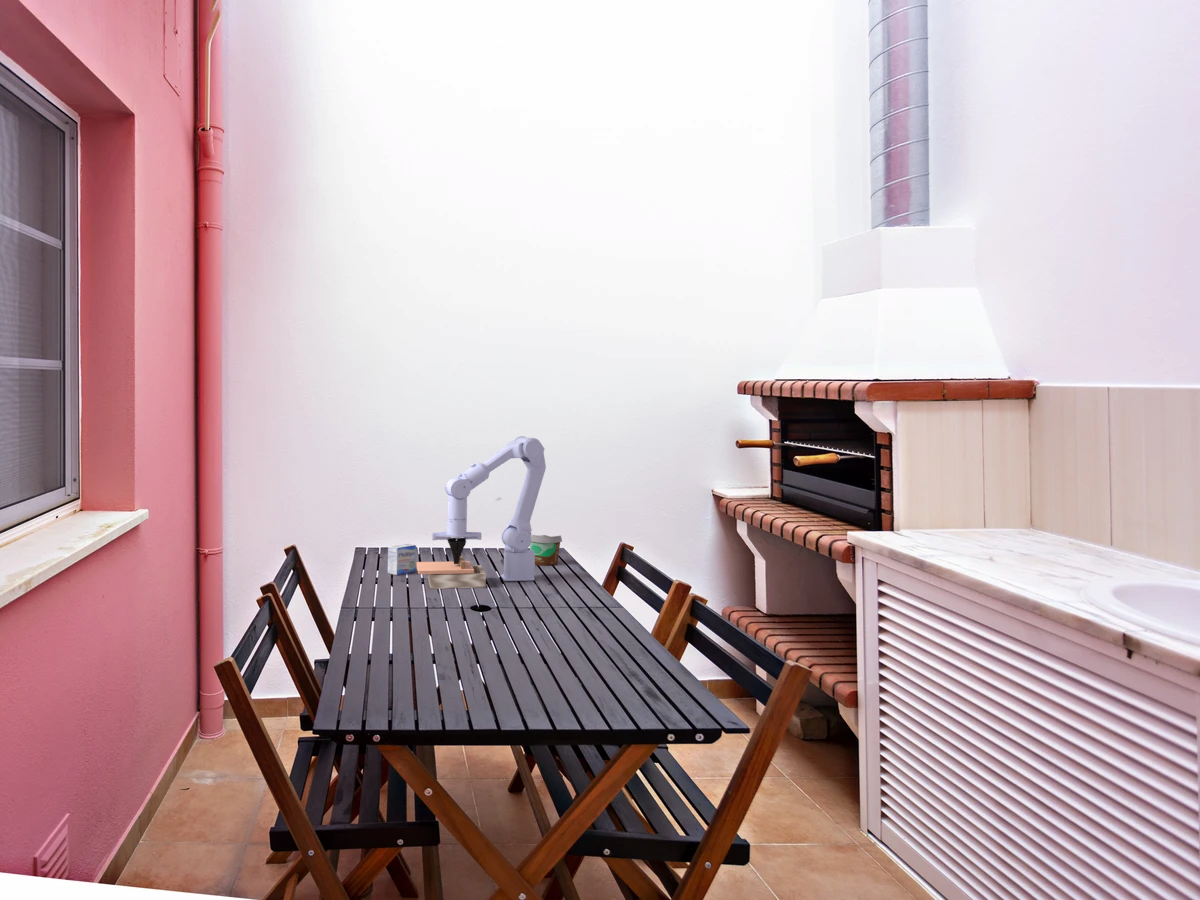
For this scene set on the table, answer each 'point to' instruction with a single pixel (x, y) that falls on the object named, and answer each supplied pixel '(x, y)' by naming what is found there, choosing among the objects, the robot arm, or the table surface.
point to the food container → (545, 549)
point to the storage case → (459, 579)
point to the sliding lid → (445, 567)
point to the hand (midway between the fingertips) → (456, 563)
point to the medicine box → (402, 559)
